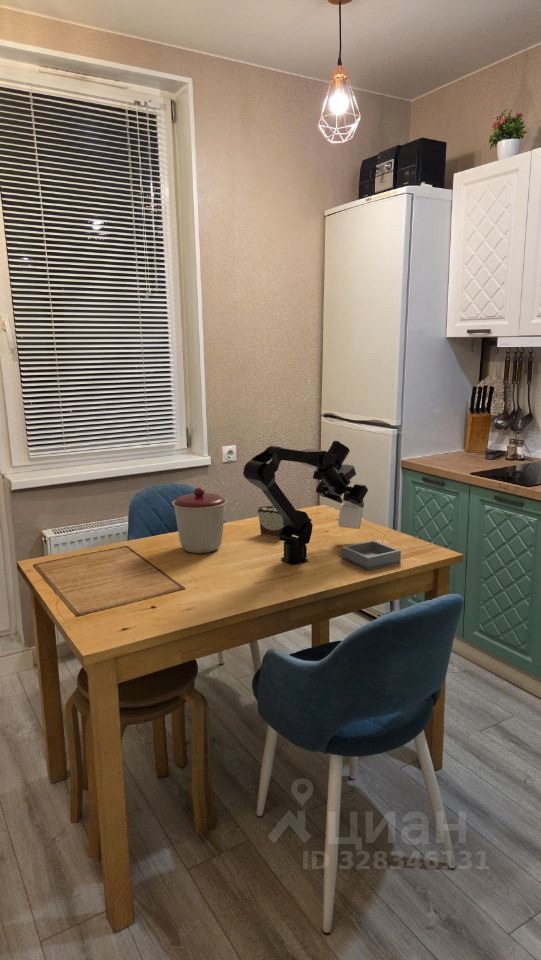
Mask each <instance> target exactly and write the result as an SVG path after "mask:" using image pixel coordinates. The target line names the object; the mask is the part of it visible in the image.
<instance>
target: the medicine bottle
mask: <svg viewBox="0 0 541 960" xmlns="http://www.w3.org/2000/svg"><path fill="white" fill-rule="evenodd" d="M348 495H349V494H347V493H343V498H342V501H343V502H342V503H339V510H338V518H337V525H338V526H339V527H341V528H349V529H355V530H356V529H357V530H360V528H361V524H362V517H363V508H361V507H359V506H357V505H355V504H353V503H351V501H350V500H349V499H348Z"/></svg>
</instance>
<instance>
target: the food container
mask: <svg viewBox="0 0 541 960" xmlns="http://www.w3.org/2000/svg"><path fill="white" fill-rule="evenodd" d="M256 513H257V514H258V521H259V530H260V531H259V532H260V535H261V534H263V535H262V536H266V535H269V536H268V537H272V536H275V537H274V538H278V537H279V534H280V532H281V530H282V529H283V527H284V526H283V518H282V516H281V515H280V514H279V512H278V511H277V510H276V508H275V507H274V506H273V505H261V506H258V507H257V510H256Z"/></svg>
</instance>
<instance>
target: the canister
mask: <svg viewBox="0 0 541 960" xmlns="http://www.w3.org/2000/svg"><path fill="white" fill-rule="evenodd" d="M227 503H228V500H227V498H225V497H224V496H222V495H219V494H216V493H208V492H206V491H205V489H204V488H203V487H196V488H195V489H193V493H187V494H184V495H181V496H180V495H179V496H178V497H177V498H176V499H174V500H173V501H172V502H171V504H172V507H174V515H175V519H176V526H177V531H178V532H177V533H178V537H179V543H180V546H181V548H182V549H183V550H185V551H186V552H189V553H192V554H207V553H211V552H215V551H216V550H218V549H220V546H221V544H222V540H223V533H224V523H225V510H226V504H227Z"/></svg>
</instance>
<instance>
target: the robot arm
mask: <svg viewBox="0 0 541 960" xmlns="http://www.w3.org/2000/svg"><path fill="white" fill-rule="evenodd" d="M350 452H351V450H350V448H349V446H347V445H344V444H343V443H342V442H340V441H339V440H333V442H332V443H331V446H330V447H329V448H328V450H321V449H314V448H308V449H307V448H306V449H302V450H298V449H292V448H291V449H290V448H284V447H282V446H276V445H270V446H268V447H266V449H264V450H263V451H262V452H260V453H258V454H256V455H255V456H253V457H252V458H251V459H250V460H249V461H247V462H246V463H245V465H244V468H243V471H242V474H243V476H244V478H245V479H246V480H247V481H248V482H249V483H250V484H251V485H254V486H255V487H257V488H258V489H260V490H261V492H262V493H263V494H264V495H265V496H266V498H267V500H269V501H270V503H271V505H272V506H274V507H275V508H276V510H277V511H278V512H279V514H280V515H281V516H282V518H283V526H284V527H283V529H282V530H281V532H280V534H279V541H282V542H283V557H280V560H281V561H284V562H285V563H287V564H289V565H291V566H293V565H297V564H302V563H307V562H309V559H308V558H307V557H308V556H307V555H308V554H307V552H308V550H307V544H310V540H311V536H312V533H313V523H312V518H310V517H309V515H308V513H307V512H306V511H302V510H299V509H295V507H294V506H293V504H292V503H291V502H290V500H289V499H288V497H287V496H286V494H285V493H284V491H282V489H281V488H280V487H279V485H278V483H277V481H276V472H277V471H278V469H279V467H280V463H281V462H282V461H286V462H293V463H300V464H301V465H304V466H306V467H309V468H314V469H316V470H314V472H313V475H312V479H313V480H318V481H319V483H318V484H317V486H316V488H315V493H316V494H317V495H318V496H321V497H322V498H325V499H328V500H330V501H333V502H336V503H339V504H343V503H344V502H343V498H342V495H344V493H347V494H349V495H348V499H349V500H350V501H351V503H353V504H355V505H357V506H359V507H361V508H362V509H363V508H364V507H365V504H364V503H365V502H364V498H365V496H366V495H367V493H368V491H369V489H368V487H367V486H366V485H365V484H360V483H354V485H353V486H349V485H350V484H351V482H352V481H351V480H352V478H354V477H355V476H356V475H357V472H356V469H355V466H354V465H352V464H344V462H345V460H346V458H347V457H348V456H349V453H350Z"/></svg>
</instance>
